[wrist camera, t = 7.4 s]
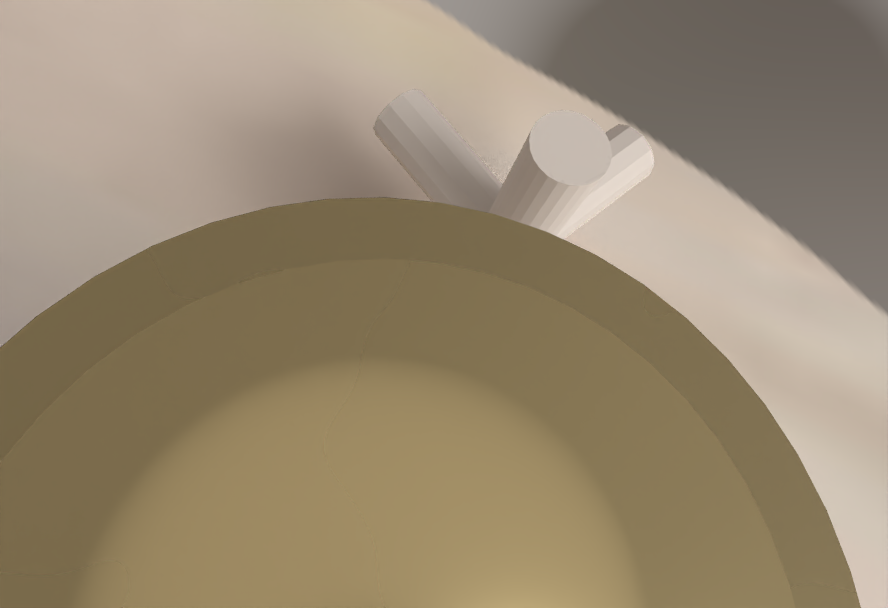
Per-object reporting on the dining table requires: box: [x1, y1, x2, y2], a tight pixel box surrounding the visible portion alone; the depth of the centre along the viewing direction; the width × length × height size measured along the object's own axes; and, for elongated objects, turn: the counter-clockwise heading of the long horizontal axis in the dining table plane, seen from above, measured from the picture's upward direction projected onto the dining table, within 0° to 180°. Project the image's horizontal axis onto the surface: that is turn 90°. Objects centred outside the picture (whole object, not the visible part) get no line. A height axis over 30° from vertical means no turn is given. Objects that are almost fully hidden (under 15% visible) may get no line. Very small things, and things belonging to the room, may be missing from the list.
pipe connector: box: [373, 89, 654, 240], centre depth 19 cm, size 10×10×10 cm
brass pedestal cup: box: [0, 197, 861, 608], centre depth 9 cm, size 6×6×12 cm
